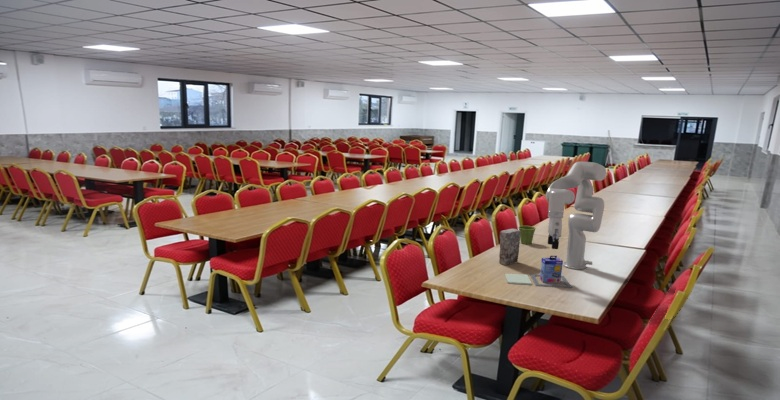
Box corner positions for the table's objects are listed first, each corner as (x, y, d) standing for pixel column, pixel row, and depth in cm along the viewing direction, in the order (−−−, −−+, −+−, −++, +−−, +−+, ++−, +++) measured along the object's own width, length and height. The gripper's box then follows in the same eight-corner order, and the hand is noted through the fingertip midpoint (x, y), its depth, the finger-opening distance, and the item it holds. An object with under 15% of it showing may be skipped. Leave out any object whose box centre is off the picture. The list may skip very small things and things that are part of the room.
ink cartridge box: (543, 283, 249) (545, 256, 247) (539, 279, 255) (541, 253, 252) (561, 282, 250) (563, 256, 248) (556, 279, 256) (559, 253, 253)
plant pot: (520, 240, 339) (521, 224, 337) (537, 243, 332) (538, 227, 330) (514, 243, 330) (515, 227, 328) (531, 246, 323) (532, 230, 321)
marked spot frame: (563, 276, 260) (563, 276, 260) (572, 287, 243) (572, 287, 243) (529, 274, 262) (530, 274, 262) (535, 285, 245) (535, 285, 245)
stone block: (507, 266, 277) (510, 232, 274) (497, 263, 282) (499, 230, 278) (519, 261, 286) (521, 229, 283) (509, 259, 291) (511, 227, 288)
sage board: (527, 276, 260) (527, 274, 260) (531, 284, 246) (531, 283, 246) (504, 274, 261) (504, 273, 261) (507, 283, 247) (508, 281, 247)
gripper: (567, 218, 238) (564, 251, 240) (559, 212, 255) (556, 243, 257) (551, 217, 238) (548, 250, 241) (544, 211, 255) (542, 242, 258)
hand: (552, 246), depth 249 cm, fingers open, 9 cm apart
